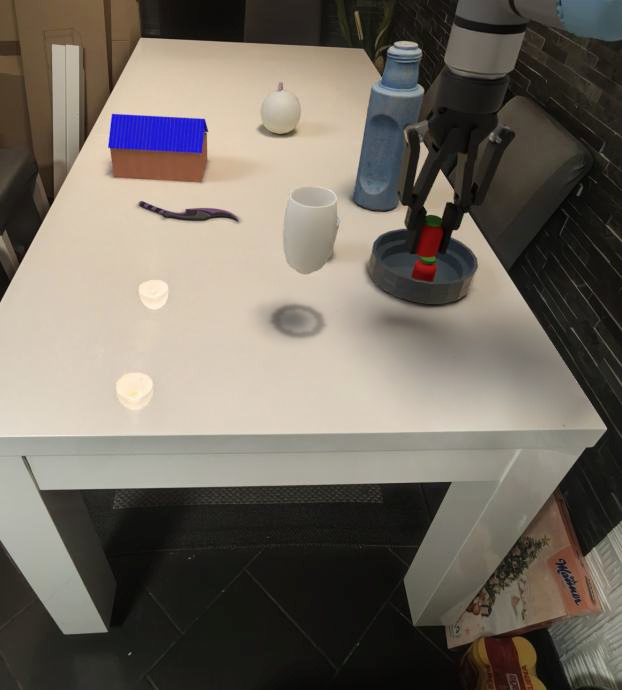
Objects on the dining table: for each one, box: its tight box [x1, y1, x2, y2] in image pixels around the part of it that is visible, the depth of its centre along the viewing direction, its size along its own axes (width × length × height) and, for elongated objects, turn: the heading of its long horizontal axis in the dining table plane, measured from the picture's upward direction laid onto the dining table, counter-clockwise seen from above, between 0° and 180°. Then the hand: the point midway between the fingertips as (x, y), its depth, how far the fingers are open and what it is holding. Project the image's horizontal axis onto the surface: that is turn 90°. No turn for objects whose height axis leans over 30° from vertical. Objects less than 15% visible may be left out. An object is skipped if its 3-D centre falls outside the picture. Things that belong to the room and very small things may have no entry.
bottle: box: [352, 40, 425, 212], centre depth 106 cm, size 10×10×30 cm
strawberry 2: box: [411, 256, 437, 282], centre depth 91 cm, size 4×4×5 cm
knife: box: [138, 200, 239, 222], centre depth 109 cm, size 21×1×5 cm
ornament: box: [260, 81, 302, 135], centre depth 140 cm, size 10×10×12 cm
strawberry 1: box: [416, 214, 443, 258], centre depth 76 cm, size 4×4×5 cm
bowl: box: [367, 228, 479, 305], centre depth 93 cm, size 17×17×4 cm
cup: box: [282, 185, 338, 275], centre depth 78 cm, size 7×7×21 cm
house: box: [107, 113, 209, 183], centre depth 120 cm, size 12×20×12 cm, turn 86°
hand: (425, 248), depth 77 cm, fingers closed on strawberry 1, 4 cm apart
